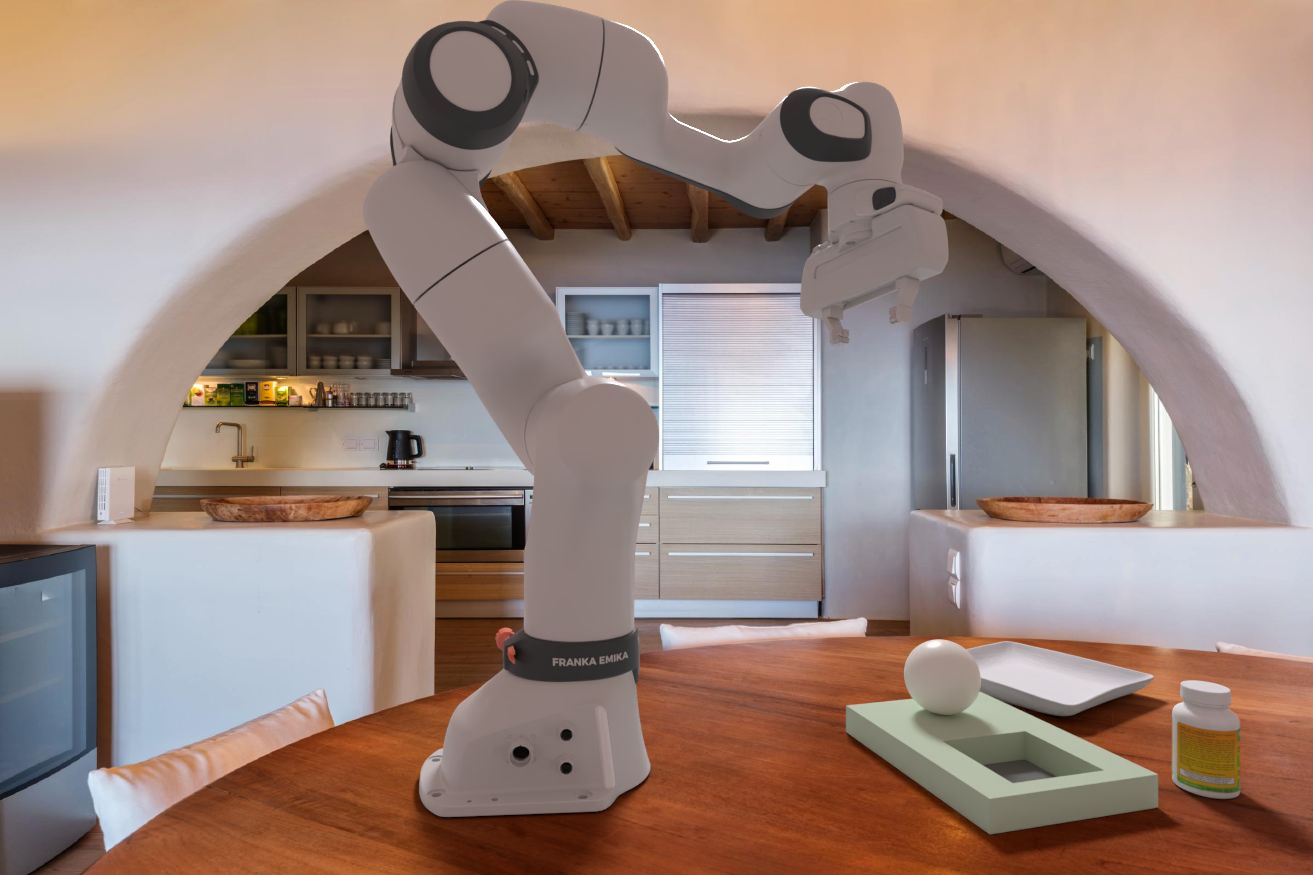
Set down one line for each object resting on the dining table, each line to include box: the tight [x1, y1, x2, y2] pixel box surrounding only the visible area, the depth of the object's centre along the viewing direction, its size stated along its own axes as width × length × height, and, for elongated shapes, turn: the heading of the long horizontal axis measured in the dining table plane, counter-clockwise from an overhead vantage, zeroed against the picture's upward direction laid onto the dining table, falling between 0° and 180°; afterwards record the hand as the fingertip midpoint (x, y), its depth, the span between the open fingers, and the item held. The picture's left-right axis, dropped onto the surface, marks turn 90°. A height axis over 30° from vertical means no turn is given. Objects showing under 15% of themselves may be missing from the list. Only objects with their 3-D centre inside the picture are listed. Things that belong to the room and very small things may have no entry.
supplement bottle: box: [1171, 679, 1241, 800], centre depth 75 cm, size 5×5×10 cm
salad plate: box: [965, 640, 1155, 717], centre depth 105 cm, size 21×21×3 cm
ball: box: [903, 638, 981, 715], centre depth 87 cm, size 8×8×8 cm
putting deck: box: [845, 692, 1159, 835], centre depth 80 cm, size 18×24×3 cm
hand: (868, 334), depth 90 cm, fingers open, 8 cm apart
